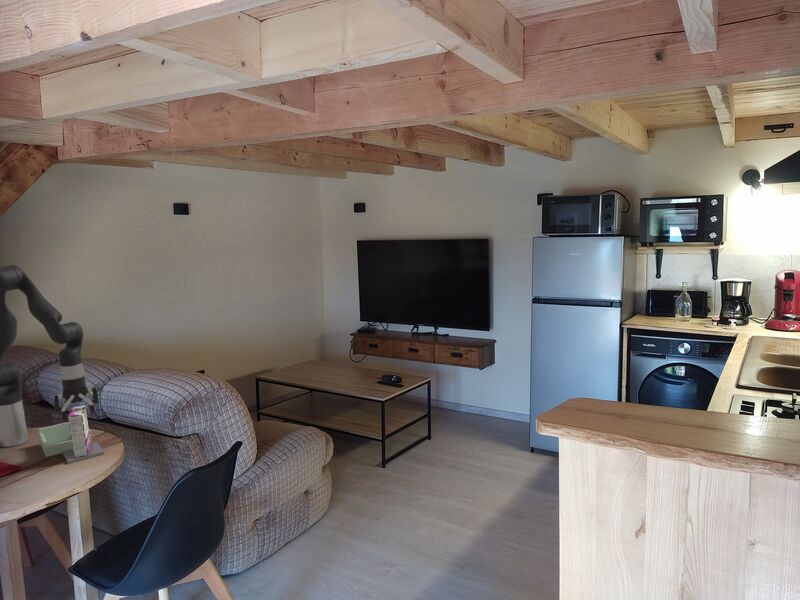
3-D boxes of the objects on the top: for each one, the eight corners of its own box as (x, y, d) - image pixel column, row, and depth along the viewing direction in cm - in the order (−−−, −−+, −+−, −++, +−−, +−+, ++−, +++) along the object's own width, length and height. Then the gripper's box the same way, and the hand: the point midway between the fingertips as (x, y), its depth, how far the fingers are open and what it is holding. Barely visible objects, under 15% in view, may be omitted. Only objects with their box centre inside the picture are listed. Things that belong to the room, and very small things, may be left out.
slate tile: (63, 453, 216) (62, 451, 216) (97, 444, 223) (97, 442, 223) (68, 463, 207) (67, 461, 206) (104, 454, 214) (103, 451, 214)
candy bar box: (76, 447, 219) (71, 407, 216) (91, 444, 221) (86, 404, 218) (73, 458, 209) (67, 416, 206) (88, 455, 211) (82, 413, 208)
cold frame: (41, 445, 225) (38, 428, 224) (86, 434, 235) (83, 418, 234) (46, 457, 213) (43, 439, 212) (93, 445, 223) (90, 428, 222)
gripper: (92, 370, 217) (97, 410, 220) (49, 377, 209) (55, 419, 211) (96, 374, 211) (101, 415, 214) (52, 382, 203) (58, 425, 205)
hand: (78, 417), depth 213 cm, fingers open, 8 cm apart
